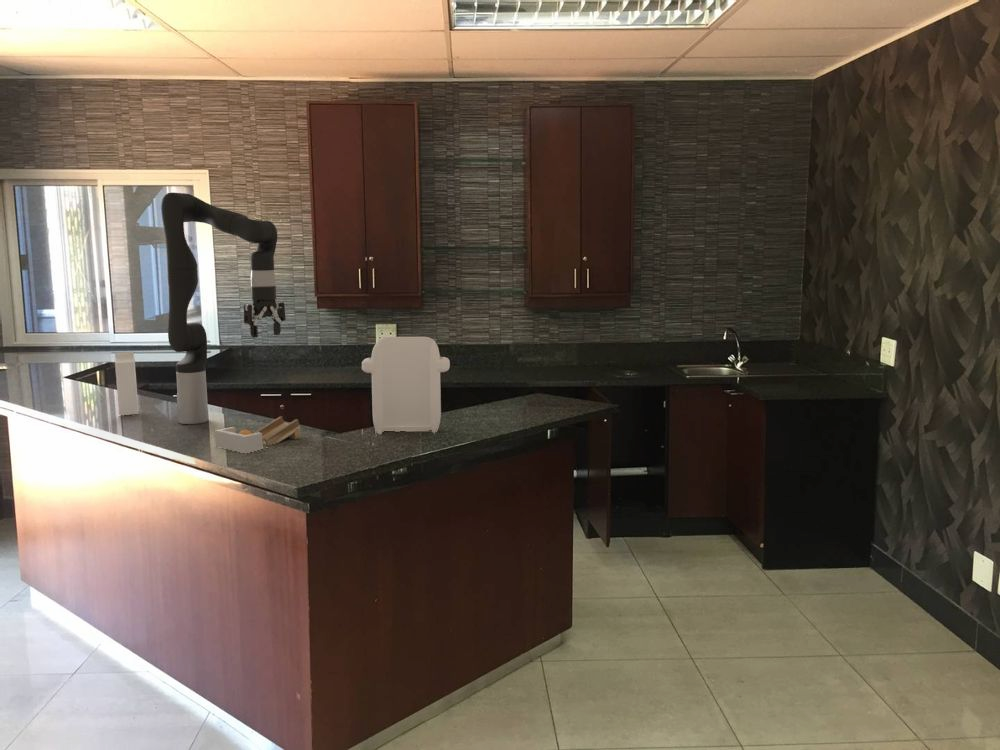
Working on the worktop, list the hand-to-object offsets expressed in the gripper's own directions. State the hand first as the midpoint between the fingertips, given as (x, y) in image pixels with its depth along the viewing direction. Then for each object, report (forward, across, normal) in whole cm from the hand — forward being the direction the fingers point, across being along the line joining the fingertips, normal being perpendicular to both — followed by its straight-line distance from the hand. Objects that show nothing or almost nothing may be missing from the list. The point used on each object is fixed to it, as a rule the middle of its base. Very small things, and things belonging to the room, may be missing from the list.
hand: (265, 336), depth 263 cm
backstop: (+30, +22, +14) cm, 40 cm away
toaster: (+30, -24, +38) cm, 54 cm away
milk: (+30, +14, -60) cm, 69 cm away
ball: (+28, +20, +14) cm, 37 cm away
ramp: (+30, +9, +14) cm, 34 cm away
